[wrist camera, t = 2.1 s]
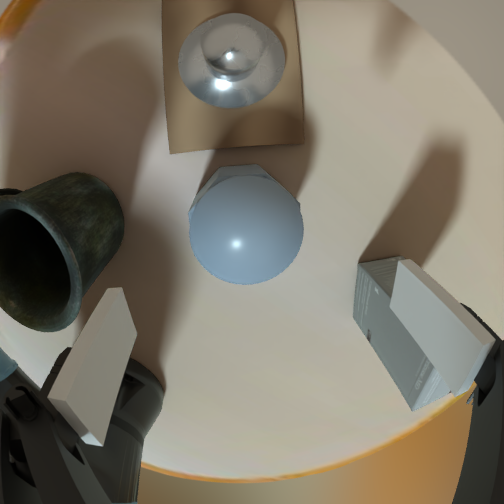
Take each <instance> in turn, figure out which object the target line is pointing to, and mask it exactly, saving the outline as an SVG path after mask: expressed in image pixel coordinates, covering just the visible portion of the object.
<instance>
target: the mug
mask: <svg viewBox="0 0 504 504" xmlns="http://www.w3.org/2000/svg"><path fill="white" fill-rule="evenodd" d="M123 234H124V220H123V214H122V210H121V207H120V205H119V202H118V200H117V199H116V197H115V195H114V194H113V192H112V191H111V190H110V188H109V187H108V186H107V185H106V184H104V183H103V182H102V181H101V180H99V179H98V178H96V177H94V176H92V175H89V174H86V173H79V172H76V173H69V174H66V175H63V176H60V177H57V178H55V179H52V180H50V181H47V182H45V183H42V184H40V185H37V186H35V187H32V188H30V189H28V190H25V191H20V190H17V189H10V188H6V189H0V307H1V308H2V309H3V310H4V311H5V312H6V313H7V314H8V315H9V316H11V317H12V318H13V319H14V320H16V321H17V322H19V323H20V324H22V325H24V326H26V327H28V328H30V329H33V330H36V331H41V332H56V331H60V330H62V329H64V328H66V327H67V326H69V325H70V324H71V323H72V322H73V321H74V320H75V318H76V317H77V315H78V312H79V310H80V307H81V302H82V297H83V296H84V295H85V293H86V292H87V290H88V289H89V288H90V286H91V285H92V283H93V282H94V281H95V279H96V278H97V277H98V275H99V274H100V273H101V271H102V270H103V269H104V267H105V266H106V265H107V263H108V262H109V261H110V259H111V258H112V257H113V256H114V254H115V253H116V252H117V250H118V248H119V247H120V245H121V242H122V239H123Z"/></svg>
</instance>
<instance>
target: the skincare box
mask: <svg viewBox="0 0 504 504" xmlns="http://www.w3.org/2000/svg"><path fill="white" fill-rule="evenodd" d="M399 260H407V259H405V258H404V257H403V256H397V257H392V258H387V259H382V260H377V261H371V262H365V263H358V273H357V281H356V290H355V300H354V312H353V318H354V320H355V321H356V323H357V324H358V326H359V327H360V329H361V330H362V332H363V333H364V335H365V336H366V338H367V339H368V341H369V342H370V344H371V346H372V347H373V349H374V350H375V352H376V353H377V355H378V357H379V358H380V360H381V361H382V363H383V364H384V366H385V367H386V369H387V371H388V372H389V374H390V376H391V377H392V379H393V380H394V382H395V384H396V385H397V387H398V388H399V390H400V392H401V393H402V395H403V397H404V398H405V400H406V402H407V403H408V405H409V407H410V408H411V411H415V410H417V409H419V408H421V407H423V406H425V405H427V404H429V403H431V402H433V401H435V400H437V399H439V398H441V397H443V396H445V395H447V394H449V393H451V390H450V389H449V387H448V386H447V385H446V383H445V382H444V380H443V379H442V377H441V376H440V374H439V373H438V371H437V370H436V369H435V367H434V366H433V364H432V363H431V362H430V360H429V359H428V357H427V356H426V355H425V353H424V352H423V350H422V349H421V348H420V346H419V345H418V344H417V342H416V341H415V340H414V338H413V337H412V336H411V334H410V333H409V332H408V330H407V329H406V328H405V326H404V325H403V324H402V322H401V321H400V320H399V319H398V317H397V316H396V315H395V313H394V312H393V311H392V310H391V308H390V302H391V297H392V293H393V288H394V282H395V277H396V272H397V266H398V261H399Z"/></svg>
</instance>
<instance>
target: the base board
mask: <svg viewBox="0 0 504 504" xmlns="http://www.w3.org/2000/svg"><path fill="white" fill-rule="evenodd" d="M229 13H240V14H245V15H248V16H250V17H252V18H254V19H256V20H257V21H259V22H261V23H263V24H264V25H266V26H267V27H268V28H270V29H271V30H272V31H273V32H274V33H275V35H276V36H277V37H278V39H279V40H280V42H281V44H282V47H283V50H284V54H285V67H284V72H283V75H282V77H281V79H280V81H279V83H278V84H277V86H276V87H275V88H274V90H273V91H272V92H271V93H269V94H268V95H267V96H266V97H265V98H263V99H262V100H260V101H258V102H256V103H255V104H252V105H249V106H246V107H242V108H233V109H227V108H219V107H215V106H212V105H209V104H207V103H205V102H203V101H201V100H199V99H198V98H197V97H195V96H194V95H193V94H192V93H191V92H190V91H189V89H188V88H187V87H186V86H185V84H184V82H183V80H182V78H181V76H180V72H179V67H178V58H179V52H180V49H181V47H182V45H183V43H184V41H185V39H186V38H187V36H188V35H189V34H190V33H191V32H192V31H193V30H194V29H195V28H196V27H198V26H199V25H201V24H202V23H204V22H206V21H208V20H211V19H213V18H216V17H218V16H221V15H224V14H229ZM162 49H163V74H164V91H165V106H166V118H167V130H168V140H169V150H170V154H176V153H184V152H192V151H200V150H209V149H219V148H230V147H243V146H258V145H277V144H304V124H303V106H302V90H301V76H300V64H299V52H298V42H297V32H296V23H295V14H294V6H293V0H162Z"/></svg>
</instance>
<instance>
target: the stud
mask: <svg viewBox="0 0 504 504" xmlns="http://www.w3.org/2000/svg"><path fill="white" fill-rule="evenodd" d="M178 67H179V72H180V76H181V78H182V80H183V82H184V84H185V86H186V87H187V88H188V89H189V91H190V92H191V93H192V94H193V95H194V96H195V97H197V98H198V99H199V100H201V101H203V102H205V103H207V104H209V105H212V106H215V107H219V108H227V109H233V108H242V107H246V106H249V105H252V104H255V103H256V102H258V101H260V100H262V99H263V98H265V97H266V96H267V95H268V94H269V93H271V92H272V91H273V90H274V88H275V87H276V86H277V84H278V83H279V81H280V79H281V77H282V75H283V72H284V67H285V54H284V50H283V47H282V44H281V42H280V40H279V39H278V37H277V36H276V35H275V33H274V32H273V31H272V30H271V29H270V28H268V27H267V26H266V25H264V24H263V23H261V22H259V21H257V20H256V19H254V18H252V17H250V16H248V15H245V14H240V13H229V14H224V15H221V16H218V17H216V18H213V19H211V20H208V21H206V22H204V23H202V24H201V25H199V26H198V27H196V28H195V29H194V30H193V31H192V32H191V33H190V34H189V35H188V36H187V38H186V39H185V41H184V43H183V45H182V47H181V49H180V52H179V58H178Z"/></svg>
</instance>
